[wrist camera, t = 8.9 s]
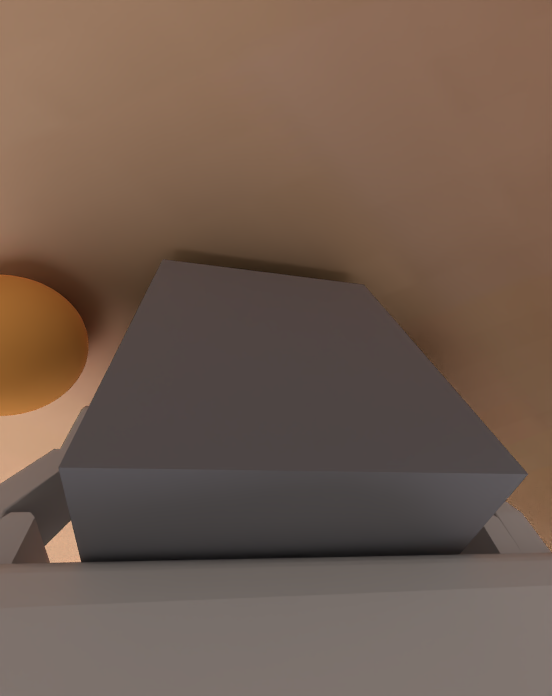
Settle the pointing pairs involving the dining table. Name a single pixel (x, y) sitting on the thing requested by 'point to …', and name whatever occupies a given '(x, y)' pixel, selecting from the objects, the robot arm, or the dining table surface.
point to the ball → (37, 345)
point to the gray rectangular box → (276, 430)
